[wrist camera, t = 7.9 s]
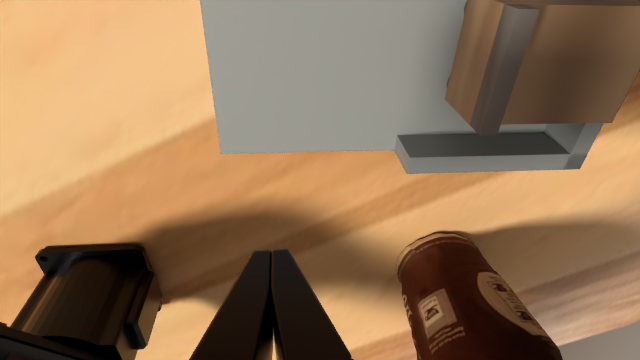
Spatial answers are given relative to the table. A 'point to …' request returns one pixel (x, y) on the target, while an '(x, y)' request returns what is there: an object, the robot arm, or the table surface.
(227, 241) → the table surface
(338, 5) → the dock
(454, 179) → the table surface
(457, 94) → the block
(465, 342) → the coffee cup
